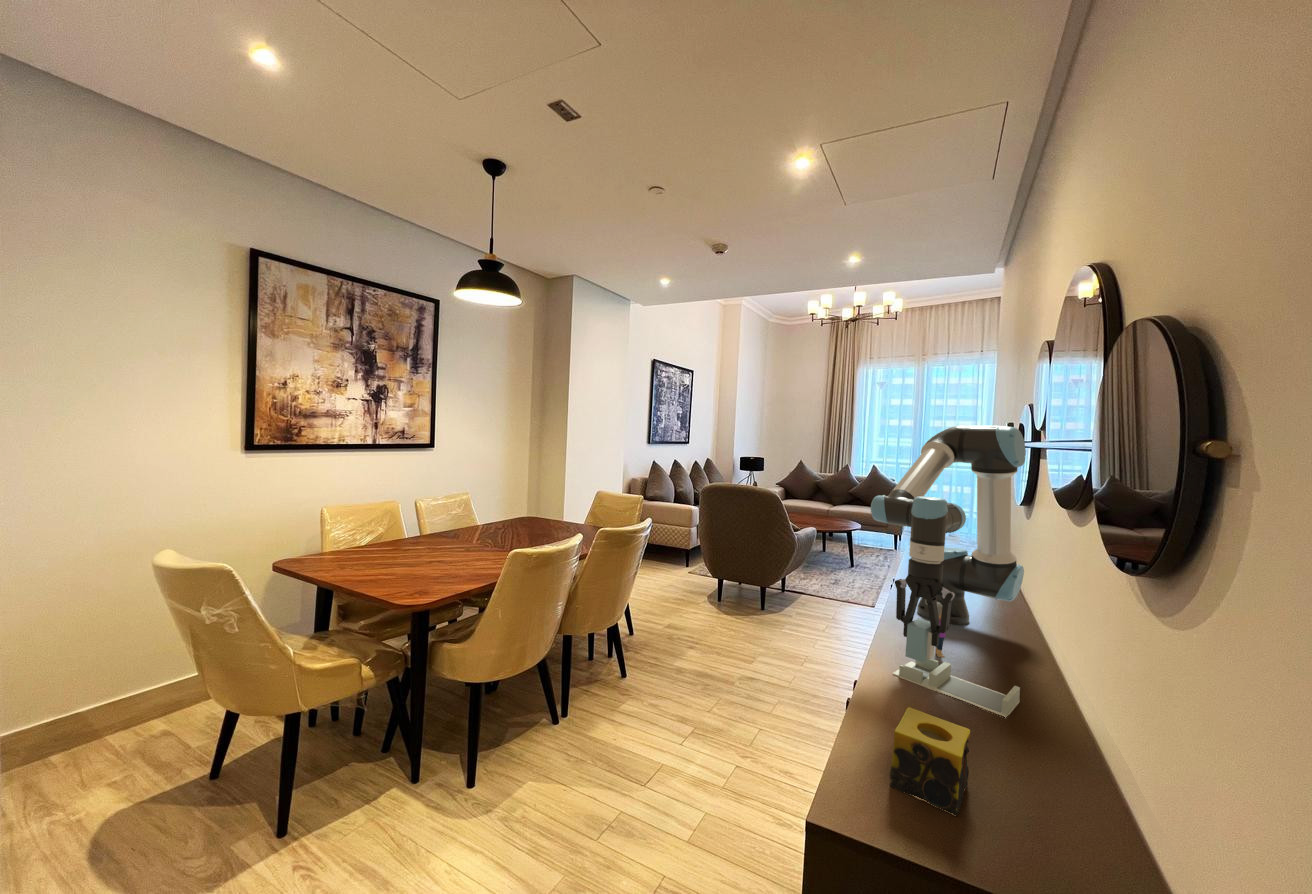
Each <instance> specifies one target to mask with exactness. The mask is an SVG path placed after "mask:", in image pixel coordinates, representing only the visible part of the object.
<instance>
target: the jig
mask: <svg viewBox="0 0 1312 894" xmlns="http://www.w3.org/2000/svg"><path fill="white" fill-rule="evenodd" d="M951 672H952V664H951V663H949V662H947V661H944V662H942V663H941V664H940V665H939V660H937V659H934V658H931V659H930V660H929V659H927V660H926V661H924V662H920V661H917V660H915V662H914V661H912V660H911V661H909V662H907V663H905V664H900V665H899V669H897V670H895V671H893V672H892V675H893V676H896V677H898V678H900V679H903V680H906V681H908V682H911V683H913V684H916V685H918V686H921V687H923V688H925V689H929V690H932V691H934V692H936V691H937V692H936V693H939V694H941V693H942V695H944V694H945V695H944V696H946V695H948V696H947V697H949V696H951V697H950V698H952V697H954V698H957V699H960V700H963V701H966V702H969V703H971V704H973V705H975V706H978V707H980V708H983V709H986V710H988V711H991V712H994V713H996V714H999V715H1002V716H1004V717H1005V718H1004V719H1007V718H1008V717H1009V716H1010V715H1011V713H1012V712H1013V711H1014V709H1016V707H1017V706H1018V705H1019V703H1020V700H1021V699H1020V691H1021V686H1020V687H1019V686H1018V685H1014V686H1013V687H1012V688H1011V689H1010V690H1009V692H1007V694H1004V693H1001V692H999V691H997V690H992V689H991V688H988V687H985V686H981V685H979V684H976V683H973V682H971V681H968V680H965V679H962V678H960V677H957V676H954V675H951V674H952V673H951ZM954 698H953V699H954ZM957 699H956V700H957ZM975 706H974V707H975ZM980 708H979V709H980ZM983 709H982V710H983ZM988 711H987V712H988ZM1008 715H1009V716H1008ZM1007 716H1008V717H1007ZM1006 717H1007V718H1006Z"/></svg>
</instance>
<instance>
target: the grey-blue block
mask: <svg viewBox="0 0 1312 894" xmlns="http://www.w3.org/2000/svg"><path fill="white" fill-rule="evenodd" d="M929 631H931V624H930V620H928V619H927V620H926V619H923V618H920V617H919V618H916V619H913V620H912V622H911V623H909V624H908V626H907V637H906V643H905V657H907V658H909V659H912V660H915V661H916V660H917V661H920V662H924V661H926V660H927V659H926V655H927V641H928V632H929Z"/></svg>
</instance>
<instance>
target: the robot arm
mask: <svg viewBox="0 0 1312 894" xmlns="http://www.w3.org/2000/svg"><path fill="white" fill-rule="evenodd" d="M1025 443H1026V442H1025V440H1024V436H1023V434H1022V432H1021V431H1020V430H1019V429H1018V428H1017V427H1015V426H1005V425H965V424H964V425H961V424H960V425H955V426H952V427H948V428H946V429H943V430H941V431H940V432H938V433H936V434H935V435H933V436H932V437H930V439H928V440H927V441H926V442H925V443H924V445H923V446H922V447H921V450H920V455H919V457H917V459H916V460H915V461H914V463H913V464H912V465H911V467H910V468H909V469H908V471H906V473H905V474H904V475H903V477H902V478H901V479H900V480H899V482H898V483H897V484H896V485H895V486H894V488H893V489H892V490H891V491H890V493H889V494H888V495H886V494H883V495H880V494H879V495H876V496H874V498H873V499H872V501H871V503H870V513H871V517H872V518H873V520H874V521H876V522H880V523H884V524H887V525H894V526H895V525H896V526H902V527H907V528H910V539H909V552H908V555H909V557H910V558H909V559H908V563H907V564H908V565H907V576H906V577H905V579H904V578H903V579H902V578H900V579H896V580H894V585H895V588H896V609H895V611H896V612H895V614H896V615H895V618H896V620H898V621H901V622H902V623H903V631H902V632H903V633H902V634H903V637H904V638H907V626H908V624H909V623H911V622H912V621H914V616H915V613H916V612H917V614H918V615H919V616H920V617H922V618H924V619H927V620H928V621H930V624H931V631H929V632H928V641H927V655H926V659H929V660H930V659H934V657H935V656H934V655H935V648H936V646H937V645H938V644H939V635H940V633H945V634H946V633H947V632H949V630H950V625H951V624H952V625H954V626H963V625H964V624H965V625H968V624H969V623H970V614H969V613H970V612H969V610H968V606H967V604H966V603H967V602H966V600H965V592H966V593H970V594H975V595H979V596H982V597H986V598H989V599H994V600H996V601H997V600H1000V601H1004V602H1005V601H1006V602H1012V601H1014V600H1015V599H1016V598H1017V596H1018V595H1019V592H1020V590H1021V588H1022V587H1021V586H1022V584H1023V580H1024V576H1025V575H1024V573H1025V570H1024V566H1023V565H1021V564H1018V563H1017V556H1016V555H1015V554H1014V553H1012V551H1011V536H1012V533H1011V528H1012V527H1011V526H1012V523H1011V522H1012V519H1011V517H1012V476H1014V475H1015V474H1016V473H1017V472H1018V468H1019V467H1020V468H1021V467H1022V466H1023V465H1024V464H1025V461H1026V452H1027V451H1026V444H1025ZM954 463H964V464H965V463H966V464H971V465H970V466H971V471H972V472H973V474H975V475H976V498H977V499H976V501H977V502H976V503H977V504H976V510H977V512H976V517H977V518H976V523H977V524H976V525H977V526H976V529H977V531H976V533H977V534H976V535H977V536H976V538H977V539H976V540H977V542H976V545H977V547H976V549H974V550H973V551H972V552H971V555H969V553H968V550H967V549H964V548H959V547H946V546H945V545H946V534H951V533H955V532H957V531H959V530H960V529H962V528H963V527H964V526H965V524H966V520H967V516H966V513H965V511H964V509H963V508H962V507H961V506H959V505H958V504H956V503H953V502H948V501H947V500H946V499H944V498H942V497H934V496H925V495H926V494H927V492H928V491H929V489H931V487H932V486H933V485H934V483H935V482H936V480H938V477H939V476H940V475H942V474H941V473H942V472H943V471H944V470H945V469H946V468H949V467H951V466H952V465H953V464H954ZM907 586H908V588H909V590H910V591H911V593H910V595H909V601H908V605H907V608H906V595H907V594H906V591H907V589H906V587H907ZM925 600H926V602H927V604H928V605H927V604H926V603H925ZM939 600H941V601H942V602H943V605H942V602H940V604H941V605H942V614H941V623H940V622H939V616H938V609H937V602H939ZM952 625H951V626H952Z"/></svg>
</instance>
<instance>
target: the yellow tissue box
mask: <svg viewBox="0 0 1312 894" xmlns="http://www.w3.org/2000/svg"><path fill="white" fill-rule="evenodd" d="M970 737H971V729H969V728H968V727H964V726H962V725H959V724H956V723H953V722H951V721H948V720H946V719H942V718H939V717H937V716H934V715H931V714H928V713H926V712H923V711H921V710H918V709H916V708H912V707H911V706H907V707H906V709H905V712H904V714H903V716H902V718H901V720H899V723H898V725H897V726H896V727H895V729H894V733H893V738H894V740H893V750H892V759H891V763H890V764H891V765H890V770H889V780H890V782H889V786H890V787H891V788H893V789H895V790H897V791H899V792H900V793H903V792H905V793H904V794H906V793H908V794H911V795H914V796H917V797H919V798H921V799H924V800H926V801H927V802H929V803H930V804H932V805H934V806H936V807H938V808H941V809H943V810H946V811H948V812H950V813H953V814H954V815H957V816H958V815H959V813H960V810H959V808H960V807H961V808H962V805H961V803H963V801H964V799H963V797H964V796H963V792H964V789H965V788H966V787H967V785H968V786H969V783H968V779H969V775H970V774H969V773H970V772H969V764H968V762H969V760H968V754H969V752H970V749H969V740H970ZM967 788H968V787H967ZM967 788H966V789H967ZM964 793H965V792H964ZM908 794H907V795H908ZM962 800H963V801H962ZM938 808H937V809H938ZM961 808H960V809H961ZM941 809H940V810H941ZM958 812H959V813H958Z"/></svg>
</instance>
